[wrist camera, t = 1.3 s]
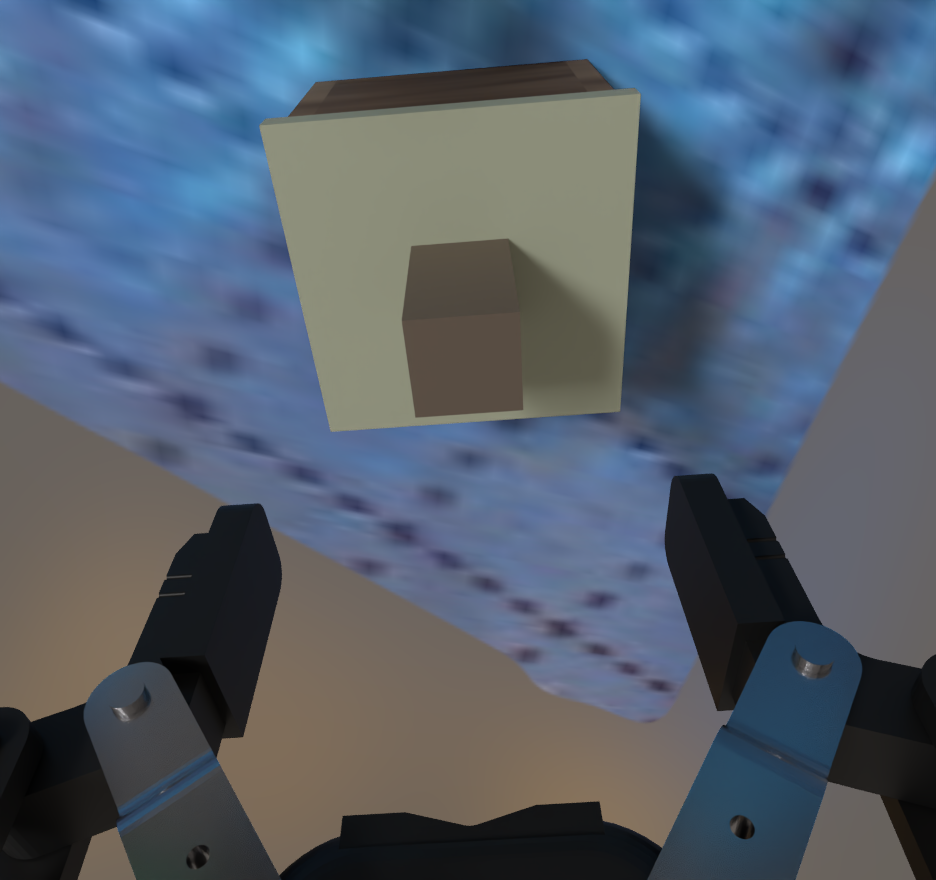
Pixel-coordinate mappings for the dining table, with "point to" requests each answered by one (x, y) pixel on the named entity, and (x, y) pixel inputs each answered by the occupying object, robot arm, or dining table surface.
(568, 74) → the box
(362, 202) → the lid
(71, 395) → the dining table surface
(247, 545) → the robot arm
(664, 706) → the dining table surface
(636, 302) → the dining table surface
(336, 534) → the dining table surface
